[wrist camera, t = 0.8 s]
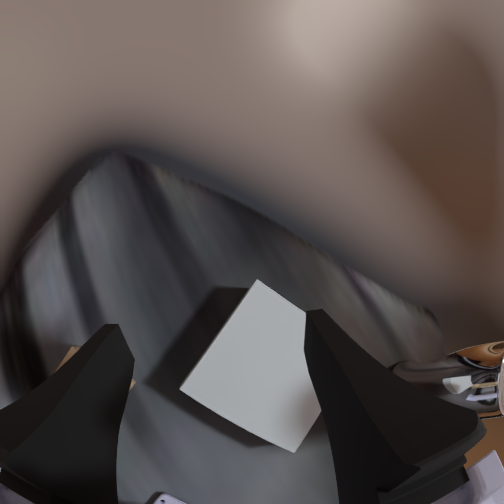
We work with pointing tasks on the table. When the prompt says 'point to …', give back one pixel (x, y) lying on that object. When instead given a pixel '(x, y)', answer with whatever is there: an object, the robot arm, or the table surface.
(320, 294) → the table surface
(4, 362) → the table surface
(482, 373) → the beer glass
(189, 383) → the ceramic box
